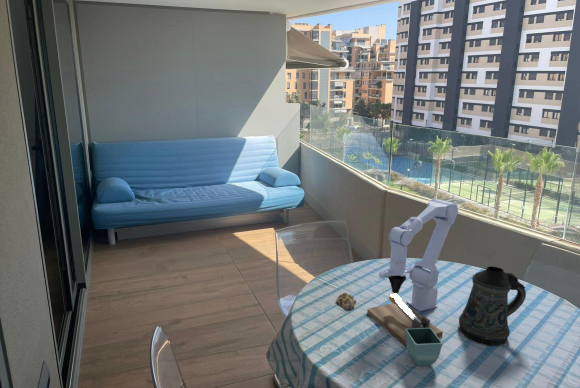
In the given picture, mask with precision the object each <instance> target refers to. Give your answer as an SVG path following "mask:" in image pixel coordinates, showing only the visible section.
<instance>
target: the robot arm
mask: <svg viewBox="0 0 580 388" xmlns="http://www.w3.org/2000/svg"><path fill="white" fill-rule="evenodd" d="M458 208H459V207H458V205H457V203H455V202H450V201H447V200H443V199H438V198H435V197H434V198H431V200H430V201H428V203H427V206H426V207H425V209H424V210H422V212H420V213H419V215H417V216H411V217H409V218H408V220H406V221H405V222H403V223H402V224H401V225H399V226H394V227H393V228H391V229H390V231H389V232H388V233H389V234H388V237H387V238H388V240H389V245H390V256H389V257H390V259H389V267H388V268H387V269H384V270H382V271H379V276H378V277H379V278H380V279H382V280H384V279H385V278H388V279H389V283H390V286H391V292H392V293H393V294H397V295H398V294H399V292H400V290H401V287H402V285H403V284H404V282H405V281H406V280H407V274H408V275H409V280H411V284H412V291H411V292H412V294H411V299H409V300H406V303H407V304H408V305H410V306H412V307H413V308H414V309H415V310H417V311H419V312H422V311H427V310H430V309H434V308H438V305H437V302H438V301H437V300H438V294H439V293H438V287H437V284H438V281H439V275H440V271H439V269H438V267H437V265H436V263H437V261H438V259H439V256H440V254H441V251H442V250H443V249H442V248H443V246H444V243H445V241H446V239H447V236H448V234H449V231H450V229H451V227H452V226H453V225H454V223H455V221H456V219H457V216H458V214H459V209H458ZM432 219H433V220H434V221H435V223H436V225H435V227H434V229H433V231H432V235H431V237H430V239H429V241H428V244H427V247H426V249H425V252H424V254H423V256H422V259H420V260H418V261H416V262H415V263H414V265H413V266H407V265H406V263H407V253H408V246H409V245H410V244H411V242H412V240H413V238H414V237H415V236H416V234H417V233H419V232H420V231H422V230H423V225H424V224H427V222H429V221H430V220H432Z"/></svg>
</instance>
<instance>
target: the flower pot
mask: <svg viewBox="0 0 580 388" xmlns="http://www.w3.org/2000/svg"><path fill="white" fill-rule="evenodd" d="M405 332H406V345H407V347H406V348H407V351H408V353H409V355H410V357H411V359H412V360H413V363H415V365H416V366H431V365H433V364H434V363H436V362H437V361H438V359H439V357H440V354H441V350H442V348H443V347H442V346H443V341H442V340H441V339H440V338H438V337H437V335H436V334H435V333H434V331H433V330H432V329H431V328H413V329H405Z"/></svg>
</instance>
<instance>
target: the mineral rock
mask: <svg viewBox="0 0 580 388" xmlns="http://www.w3.org/2000/svg"><path fill="white" fill-rule="evenodd" d="M335 302H336V303H337V304H338V305H339V306H340V307H341V308H342V309H343V308H344V309H346V310H350V311H351V310H353V309H354V308H355V304H356V303H357V301H356V299H355V298H354V296H352V295H351V294H348V293H347V292H343V293H340V295H339V296H338V297H337V298H336V300H335Z"/></svg>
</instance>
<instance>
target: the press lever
mask: <svg viewBox="0 0 580 388" xmlns="http://www.w3.org/2000/svg"><path fill="white" fill-rule="evenodd" d="M388 299H389V301H390V302H391V303H393V304H395V305H396V306H397V307H398V308H399V309H400V310H401V311H402V312H403V313H404V314H405V315H406V317H407V318H408V319H409V320H410V321H411V322H412V320H413V319H416V320H417V321H419V322H420V323H421V326H420V328H425V325H424V323H422V322H421V321H420V320H419V319H418V318H417V317H416V316H415V315H414V314H413V313H412V312H411V310H410V309H409V308H410V307H409V306H408V305H407V304H405V303H404V302H403V301H402V298H401V297H400V296H399V295H398V294H394V293H393V294H389V297H388ZM406 305H407V306H408V307H409V308H408V307H407V306H406Z"/></svg>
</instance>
